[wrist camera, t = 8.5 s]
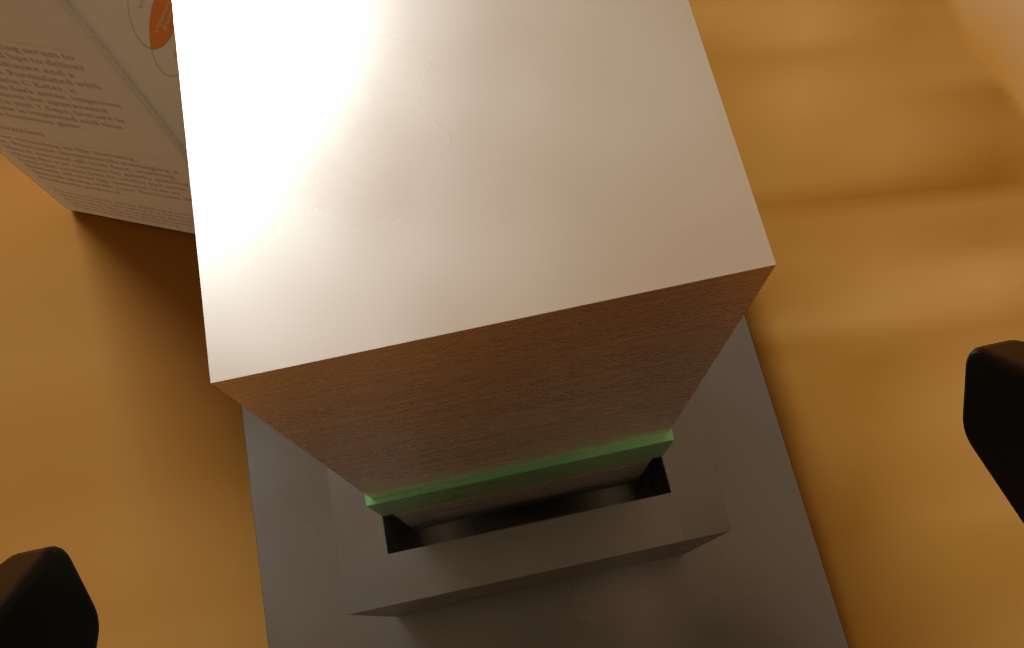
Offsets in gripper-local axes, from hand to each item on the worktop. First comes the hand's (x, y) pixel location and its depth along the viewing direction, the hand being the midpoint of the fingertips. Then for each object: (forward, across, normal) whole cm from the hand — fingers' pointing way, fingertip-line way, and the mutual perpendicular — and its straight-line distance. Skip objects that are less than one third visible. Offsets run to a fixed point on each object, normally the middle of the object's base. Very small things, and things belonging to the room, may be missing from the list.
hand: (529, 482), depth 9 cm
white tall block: (+7, 0, +3) cm, 8 cm away
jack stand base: (+11, 0, +7) cm, 13 cm away
